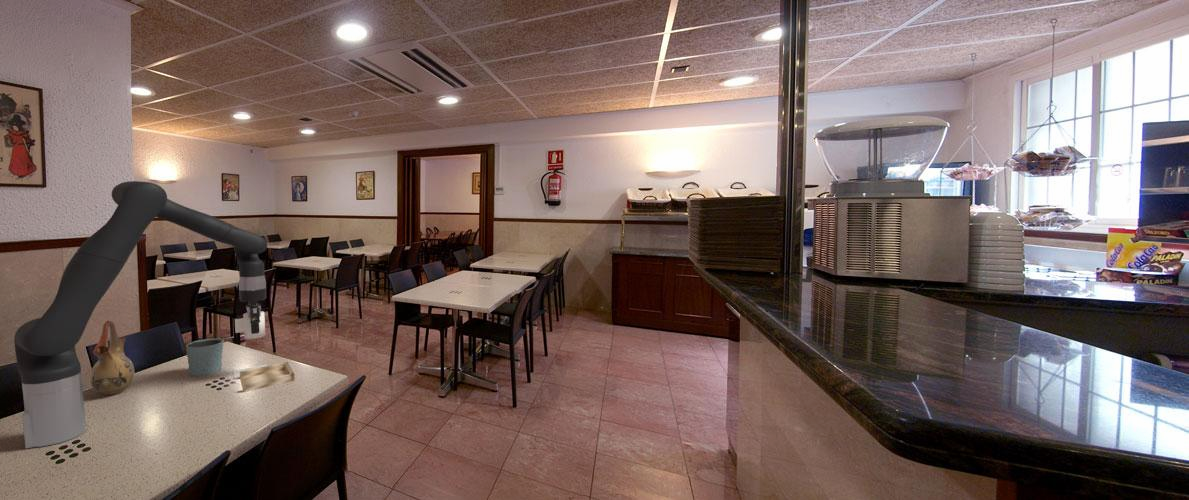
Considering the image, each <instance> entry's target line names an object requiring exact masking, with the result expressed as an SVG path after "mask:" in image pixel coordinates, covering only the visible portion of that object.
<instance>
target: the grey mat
mask: <svg viewBox="0 0 1189 500" xmlns="http://www.w3.org/2000/svg"><path fill="white" fill-rule="evenodd" d="M266 366H268V364H267V363H266V364H262V365H257V366H251V367H248V368H246V367H245V368H242V369H236V370H232V375H233V379H234V381H236V380H240V372H241V371H246V370H251V369H256V368H261V367H266Z"/></svg>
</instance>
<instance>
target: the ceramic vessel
mask: <svg viewBox="0 0 1189 500" xmlns="http://www.w3.org/2000/svg"><path fill="white" fill-rule="evenodd" d="M102 326H103V327H102V333H101V336H100V339H99V340H98V343H97V344H96V345H95V347H94V349H93V351H92V353H93V355H95V356H96V357H97V358H98V361H96V362H95V364H94V365H93V367H92V369H91V371H90V374H89V379H90V385H91V387H92V388H93V390H94V391H96V392H97V393H99V394H100V395H102V396H114V395H118V394H121V393H122V392H124V391H125V390H126V389H127V388H128V387H129V386H130V385H131V383H132V382H133V378H134V376H135V366H134V363H133V362H132V360H131V359H130V358H129V357H127V356H126V354H125V352H124V351H125V350H124V345H125V341H126V337H119V335H118V333H117V329H116V326H115V323H114V322H113V321H112V320H106V321H105V322H104V324H103V325H102Z"/></svg>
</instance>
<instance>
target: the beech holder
mask: <svg viewBox="0 0 1189 500" xmlns="http://www.w3.org/2000/svg"><path fill="white" fill-rule="evenodd" d="M239 380H240V383H241V386H242V391H243V393H247V392H250V391H255V390H258V389H259V390H260V389H264V388H268V387H273V386H276V385H277V386H278V385H280V384H285V383H291V382H295V373H294V371H293V369H292V367H291V366H290V364H289V362H286V361H285V362H281V363H275V364H272V365H267V366H266V367H261V368H256V369H251V370H246V371H241V372H240V379H239Z"/></svg>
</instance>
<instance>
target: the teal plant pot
mask: <svg viewBox="0 0 1189 500" xmlns="http://www.w3.org/2000/svg"><path fill="white" fill-rule="evenodd" d="M223 349H224V339H222V338H207V339H198V340H194V341H191V342H189V343H187V344H185V350H186V357H187V364H188V373H189V376H190V377H191V378H192V377H193V378H194V377H203V376H208V375H212V374H216V373H219V372H221V371H222V366H223V362H222V359H223Z"/></svg>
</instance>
